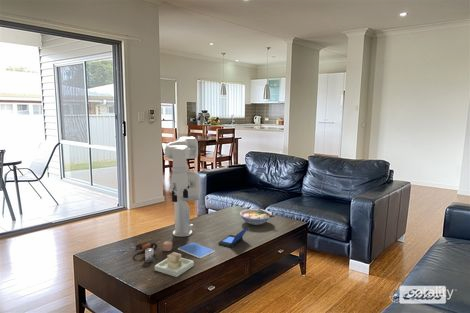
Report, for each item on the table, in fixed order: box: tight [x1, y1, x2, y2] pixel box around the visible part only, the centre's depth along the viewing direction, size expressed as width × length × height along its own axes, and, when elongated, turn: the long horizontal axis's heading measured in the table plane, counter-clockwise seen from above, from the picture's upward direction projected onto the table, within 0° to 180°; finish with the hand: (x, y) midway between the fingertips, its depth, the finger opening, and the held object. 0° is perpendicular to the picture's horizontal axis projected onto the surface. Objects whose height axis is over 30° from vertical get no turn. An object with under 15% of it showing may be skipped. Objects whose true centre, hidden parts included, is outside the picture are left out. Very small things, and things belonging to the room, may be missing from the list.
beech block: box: [166, 251, 182, 269], centre depth 170 cm, size 5×5×6 cm
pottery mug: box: [134, 240, 158, 259], centre depth 187 cm, size 12×10×8 cm
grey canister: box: [144, 247, 155, 263], centre depth 178 cm, size 4×4×6 cm
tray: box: [154, 257, 195, 278], centre depth 170 cm, size 14×14×2 cm
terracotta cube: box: [162, 241, 173, 252], centre depth 193 cm, size 4×4×4 cm
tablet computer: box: [177, 242, 216, 259], centre depth 192 cm, size 19×13×1 cm, turn 49°
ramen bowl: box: [239, 207, 275, 226], centre depth 238 cm, size 25×23×8 cm
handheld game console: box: [218, 226, 249, 248], centre depth 203 cm, size 16×13×9 cm
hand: (180, 199), depth 186 cm, fingers open, 9 cm apart
